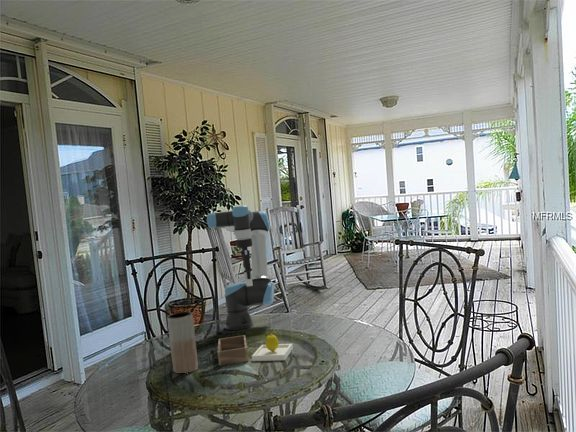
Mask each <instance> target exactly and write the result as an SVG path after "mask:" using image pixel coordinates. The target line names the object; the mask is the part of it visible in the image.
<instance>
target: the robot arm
mask: <svg viewBox="0 0 576 432" xmlns="http://www.w3.org/2000/svg"><path fill="white" fill-rule="evenodd" d="M206 223H207V226H208V228H209V229H225V230H226V231H228V232H231V233H233V235H235V239H236V240H235V245H236V248H237V249H240V250H241V251H240V255H241V259H242V263H243V264H242V266H243V274H244V281H240V282H236V283H231V284H230V285H227V286H226V287H225V288H224V297H225V298H224V299H225V306H226V317H225V318H226V319H225V322H224V323H225V324H224V326H225V330H227V331H238V330H244V329H248V328H250V327H252V326H254V319H253V317H252V314H250V311H249V307H254V306H265V305H270V304H272V303H273V302H274V298H275V284H274V282H273V281H272V279H271V278H270V277H269V276H268V275H269V273H268V258H267V243H266V241H267V240H266V237H267V235H268V234H269V233H268V232H269V231H271V224H270V221H269V216H268V213H267V212H266V211H265V210H261V211H259V210H258V211H251V210H250V209H249V207H248V205H237V206H233V207H232V210H229V211H220V212H212V213H211V212H210V213H208V214H207V215H206ZM249 247H250V250H249ZM250 259H251V260H250Z"/></svg>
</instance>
